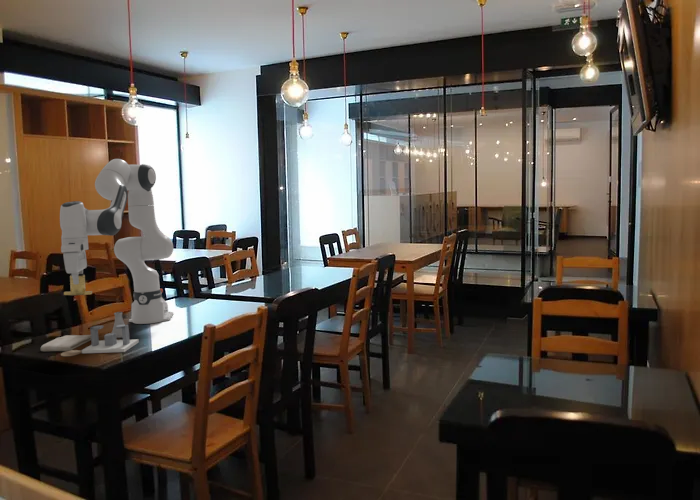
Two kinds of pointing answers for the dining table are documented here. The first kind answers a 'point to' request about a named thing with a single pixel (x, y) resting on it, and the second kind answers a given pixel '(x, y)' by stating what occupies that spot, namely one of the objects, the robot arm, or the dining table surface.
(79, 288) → the bayonet cap
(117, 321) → the flask
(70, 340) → the washcloth
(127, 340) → the white peg board
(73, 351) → the cork coaster
